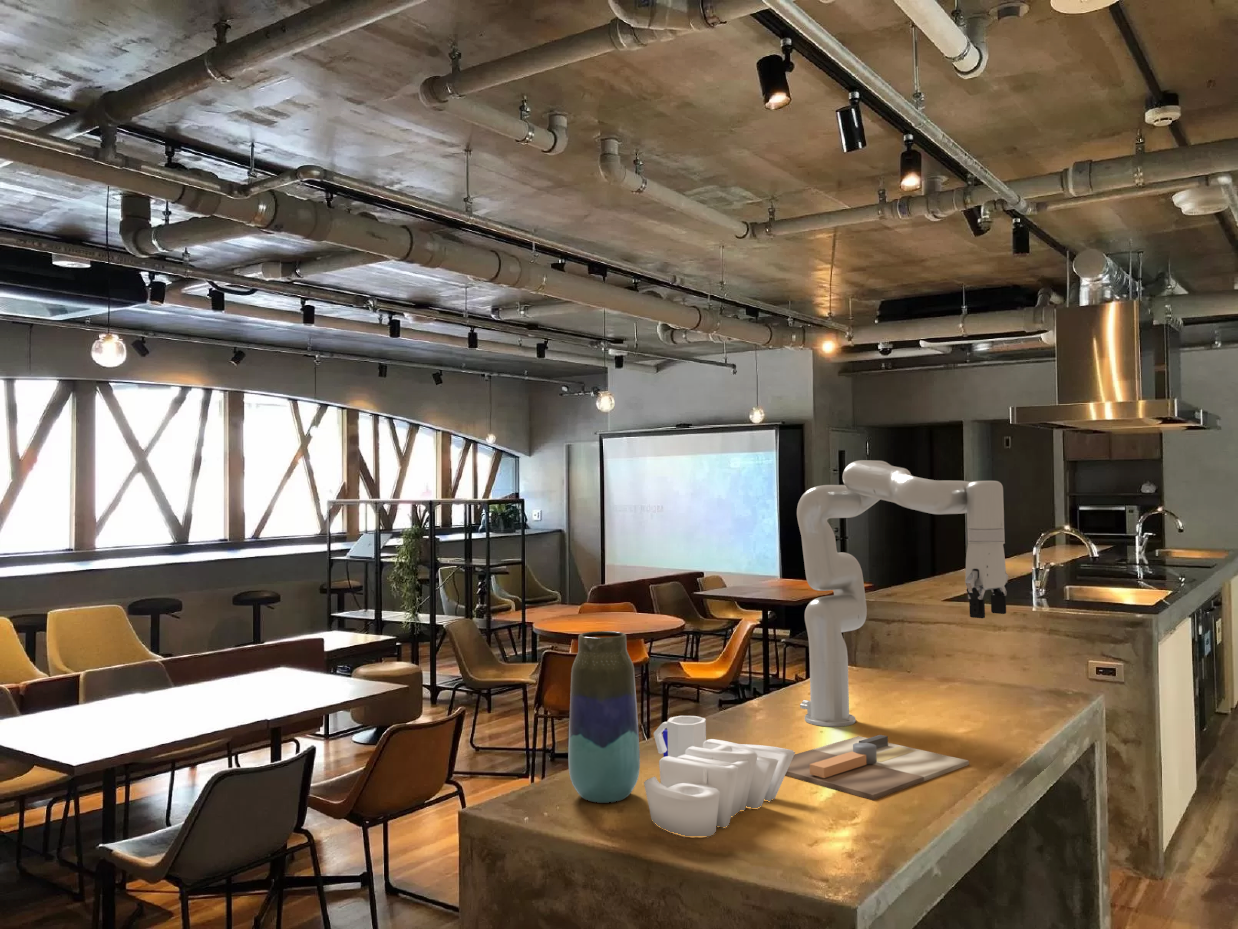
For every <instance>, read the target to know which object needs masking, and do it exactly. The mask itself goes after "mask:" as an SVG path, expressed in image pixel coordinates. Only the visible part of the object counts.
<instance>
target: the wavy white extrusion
mask: <svg viewBox="0 0 1238 929" xmlns="http://www.w3.org/2000/svg"><path fill="white" fill-rule="evenodd" d="M795 754H796V752H795V751H794V750H793V749H789V748H788V749H787V748H784V747H777V746H772V745H771V746H770V745H762V744H761V745H760V744H749V743H748V744H746V743H744V744H743V743H742V744H741V743H736V742H731V741H727V740H722V739H714V738H710V739H706V741H705V742H704V743H703V748H699V747H694V746H692V747H689V748H687V749H686V751H685V755H681V756H678V757H677V758H675V757H671V756H666V757H664V756H663V757H662V758H660V759H659V761H658V765H659V777H660V778H659V779H660V782H659V780H658V779H657V776H653V777H650V778H647V779H645V780H644V781H643V785H644V791H645V795H646V799H647V804H648V809H649V815H650V818H651V821H652V820H653V822H654V823H656V824H657V825H658V826H660V827H661V828H663V829H666V830H668V831H670V832H674V833H678V834H681V835H685V836H711V835H713V834H714V833H715V832H717V827H716V826H720V827H726V826H728V825H729V826H730V824H731V823H730V822H731V819H732V818H731V816H734V815H735V814H736V813H738V812H739V811H740V810H746V808H745V807H746V806H747V807H751V808H758V807H760V806H761V807H762V806H763V804H764V799H765V800H768V801H771V800H772V799H774V800H776V796H777V795H778V793H779V790H780V787H781V785H782V784H783V781H784V779H785V777H786V776H785V774H786V772H787V770H788V768H789V765H790V763H791V761H792V759H793V756H794V755H795ZM771 802H772V801H771ZM739 813H740V812H739ZM739 813H738V814H739ZM734 817H735V816H734ZM653 822H652V823H653ZM654 823H653V824H654ZM729 823H730V824H729ZM729 826H728V827H729ZM715 834H716V833H715ZM715 834H714V835H715ZM714 835H713V836H714ZM711 837H712V836H711Z"/></svg>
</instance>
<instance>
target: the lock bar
mask: <svg viewBox="0 0 1238 929" xmlns="http://www.w3.org/2000/svg"><path fill="white" fill-rule="evenodd" d="M876 762H877V752H876V745H874V744H871V743H855V744H853V752H848V753H845V754H842V755H838V756H835V757H832V758H829V759H825V760H822V761H819V762H815V763H812V764H810V774H811V775H815V776H818V777H822V778H826V777H829V776H832V775H835V774H838V773H842V772H845V771H848V770H851V769H854V768H857V767H860V766H863V765H866V764H874V763H876Z"/></svg>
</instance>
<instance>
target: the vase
mask: <svg viewBox="0 0 1238 929" xmlns="http://www.w3.org/2000/svg"><path fill="white" fill-rule="evenodd" d="M577 642H578V647H577V649H578V650H577V654H576V656H575V658H574V661H573V663H572V666H571V672H570V693H569V695H570V696H569V698H570V699H569V722H568V724H569V725H568V750H567V751H568V753H567V754H568V757H567V758H568V772H569V773H568V774H569V778H570V782H571V784H572V786H573V787H574V789H575V791H576V792H577V794H578V795H579V796H580V797H581V798H582V799H583V800H585V801H587V800H588V801H589V802H590V803H591V802H592V803H596V802H597V803H598V804H609V802H611V803H616V801H617V802H620V801H622V800H624V799H626V798H628V797H629V796H630V795H631V793H632V792H633V791H634V789H635V786H636V785H637V782H638V781H639V776H640V771H641V770H640V768H641V767H640V766H641V765H640V764H641V759H640V758H641V757H640V756H641V752H640V736H639V735H640V734H639V720H638V717H639V716H638V707H637V706H638V705H637V704H638V703H637V692H636V690H637V689H636V678H635V677H636V676H635V666H634V662H633V661H632V659H631V656H630V655H629V652H628V650H627V648H628V646H627V644H628V643H627V634H625V633H624V632H621V631H612V630H607V631H606V630H602V631H601V630H599V631H588V632H584V633H580V634H579V635H578V641H577ZM597 803H596V804H597Z"/></svg>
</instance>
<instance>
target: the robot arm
mask: <svg viewBox="0 0 1238 929" xmlns="http://www.w3.org/2000/svg"><path fill="white" fill-rule="evenodd" d="M841 478H842V482H843V484H823V485H817V486H816V485H815V486H814V487H811V488H809V489H807V490H806V491H805V492H804V493H803V494H802V495H801V497H800V499H799V500H798V503H797V508H796V518H797V524H798V527H799V528H798V529H799V532H800V535H801V536H800V537H801V546H802V555H803V562H804V563H803V564H804V570H805V571H804V572H805V573H804V574H805V578H806V581H807V584H808V586H809V588H811V589H813V590H815V591H818V592H824V591H826V592H827V591H832V592H833V594H831V595H825V596H819V597H817V598H814V599H812V600H810V601H809V603H808V604H807V606H806V608H805V610H804V623H805V628H806V632H807V637H808V653H809V656H808V658H809V688H810V689H809V692H810V696H809V698H810V700H806V699H803V700H802V702H801V703H800V704H799V706H800V709H802V710H807V713H806V714H805V715H804V721H805V722H806V723H808V724H810V725H814V726H820V727H828V728H829V727H830V728H831V727H832V728H835V727H836V728H838V727H849V726H852V725H854V724H855V723H856V716H854V715H853V714H851V713H850V706H849V705H850V702H849V701H850V698H849V697H850V696H849V693H850V692H849V690H850V689H849V659H848V658H849V656H848V647H847V644H846V641H845V638H843V637H844V636H843V634H842V633H845V632H851V631H855V630H858V629H860V628H861V627H863V626H864V625H865V622H866V620H867V613H868V611H867V610H868V609H867V608H868V607H867V600H866V591H865V583H864V582H865V581H864V577H863V570H862V568H861V564H860V562H859V561H858V559H857V558H856V557H855V556H854V555H853V554H850V553H848V552H844V551H843V552H838V550H837V544H836V543H837V542H836V536H835V533H834V530H833V528H832V527H831V525H830V523H829V522H828V521H829V519H846V518H848V519H849V518H855V517H857V516H859V515H862V514H863V513H864V512H865V511H867V510H869V509H870V508H871V507H872V506H874V505H875V504H876V503H878V502H879V501H880V500H881V501H886V502H889V503H890V502H891V503H894V504H896V505H898V506H901V507H902V508H906V509H910V510H915V511H918V512H922V513H928V514H932V515H958V514H961V515H962V514H966V519H967V547H966V548H967V549H966V554H965V555H966V557H965V581H964V582H965V586H966V592H967V599H968V602H969V603H968V604H969V617H970V618H971V619H985V618H986V610H985V609H986V606H985V605H986V603H985V599H983V598H984V595H985V592H986V591H990V590H991V593H992V594H991V595H990V608H991V609H990V612H991V613H992V614H998V615H1005V614H1007V592H1008V591H1007V589H1008V580H1009V574H1008V573H1007V568H1006V566H1007V565H1006V558H1005V548H1004V544H1006V542H1005V510H1004V507H1005V506H1004V486H1003V484H1002V483H1001V482H1000V481H998V480H973V481H969V480H968V481H967V480H943V479H942V480H938V479H937V480H936V479H935V480H934V479H928V478H923V477H918V476H914V475H913V474H911V471H910V470H908V469H907V468H905V467H901V466H894V465H892V464H890V463H888V462H887V461H884V460H865V459H864V460H863V459H861V460H855V461H851V462H850V463H849V464H847V466H846V467H845V468H844V470H843V472H842V477H841Z"/></svg>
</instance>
